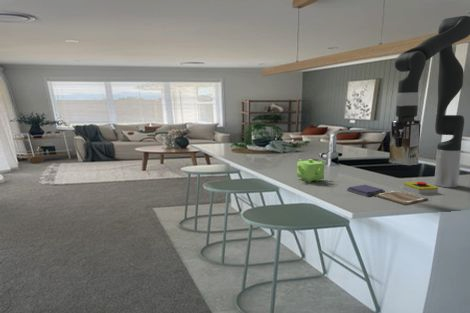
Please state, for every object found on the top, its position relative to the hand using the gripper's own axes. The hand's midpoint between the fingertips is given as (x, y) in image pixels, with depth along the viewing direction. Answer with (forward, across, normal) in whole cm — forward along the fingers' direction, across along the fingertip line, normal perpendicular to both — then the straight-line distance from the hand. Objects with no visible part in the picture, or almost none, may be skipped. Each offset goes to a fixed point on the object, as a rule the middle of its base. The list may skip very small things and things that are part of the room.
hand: (404, 146), depth 126 cm
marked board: (+22, 0, 0) cm, 22 cm away
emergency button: (+22, -18, -4) cm, 29 cm away
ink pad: (+22, +5, -14) cm, 26 cm away
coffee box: (+7, 0, 0) cm, 7 cm away
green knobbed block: (+22, +11, -44) cm, 50 cm away
